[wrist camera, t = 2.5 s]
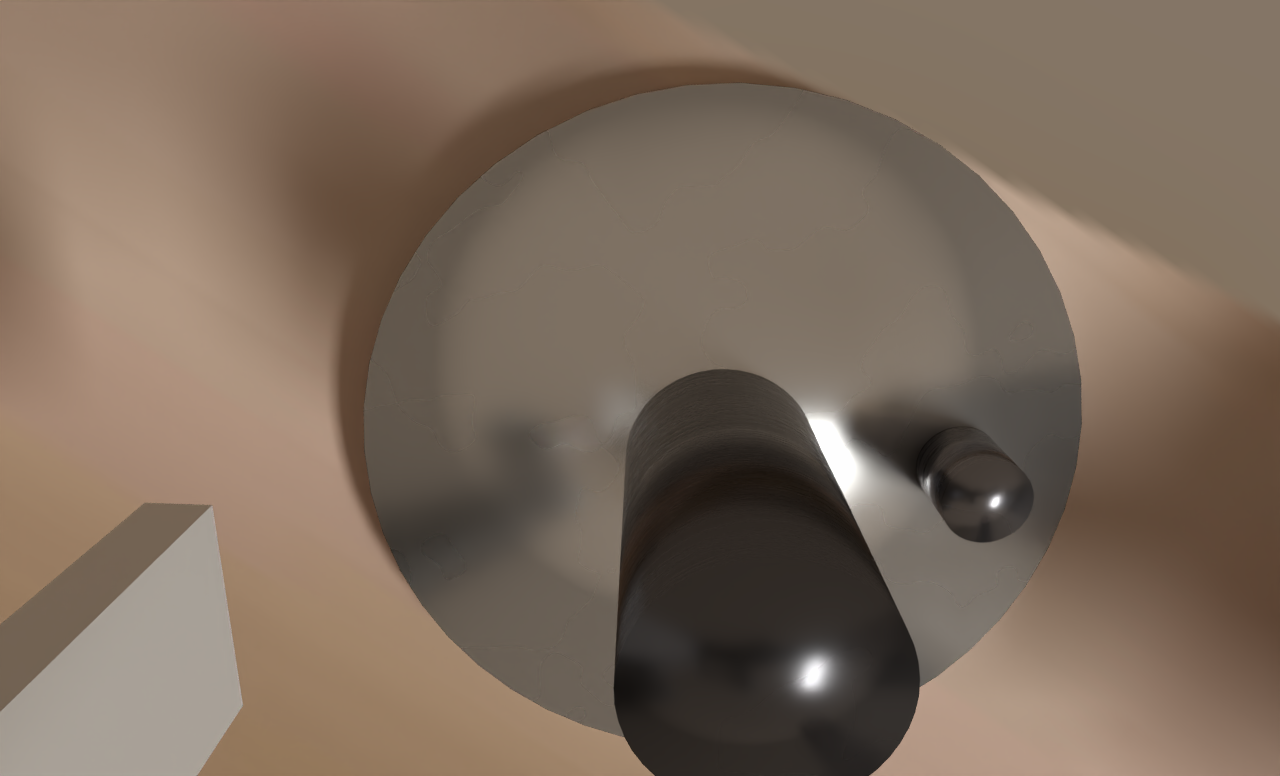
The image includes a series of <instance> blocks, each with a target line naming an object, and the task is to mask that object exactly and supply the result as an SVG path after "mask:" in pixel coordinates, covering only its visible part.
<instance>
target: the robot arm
mask: <svg viewBox="0 0 1280 776" xmlns="http://www.w3.org/2000/svg"><path fill="white" fill-rule="evenodd" d="M242 706H243V703H242V697H241V690H240V683H239V677H238V670H237V664H236V657H235V651H234V644H233V638H232V631H231V625H230V618H229V612H228V605H227V599H226V592H225V586H224V579H223V572H222V566H221V559H220V553H219V546H218V540H217V533H216V527H215V520H214V514H213V507H212V505H194V504H164V503H144V504H143V505H142V506H140V507H139V508H138V509H137V510H136V511H134V512H133V513H132V514H131V515H130V516H129V517H127V518H126V519H125V520H124V521H123V522H121V523H120V524H119V525H118V526H117V527H115V528H114V529H113V530H112V531H111V532H110V533H108V534H107V535H106V536H105V537H104V538H102V539H101V540H100V541H99V542H98V543H97V544H95V545H94V546H93V547H92V548H91V549H89V550H88V551H87V552H86V553H85V554H83V555H82V556H81V557H80V558H79V559H78V560H76V561H75V562H74V563H73V564H72V565H70V566H69V567H68V568H67V569H66V570H64V571H63V572H62V573H61V574H60V575H59V576H57V577H56V578H55V579H54V580H53V581H51V582H50V583H49V584H48V585H47V586H45V587H44V588H43V589H42V590H41V591H40V592H38V593H37V594H36V595H35V596H34V597H32V598H31V599H30V600H29V601H28V602H27V603H25V604H24V605H23V606H22V607H21V608H19V609H18V610H17V611H16V612H15V613H13V614H12V615H11V616H10V617H9V618H8V619H6V620H5V621H4V622H3V623H2V624H0V776H197V775H198V773H199V772H200V770H201V769H202V767H203V766H204V764H205V763H206V761H207V760H208V758H209V756H210V755H211V753H212V752H213V750H214V749H215V747H216V746H217V744H218V743H219V741H220V740H221V738H222V737H223V735H224V734H225V732H226V730H227V729H228V727H229V726H230V724H231V723H232V721H233V720H234V718H235V717H236V715H237V714H238V712H239V711H240V709H241V708H242Z"/></svg>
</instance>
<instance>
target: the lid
mask: <svg viewBox="0 0 1280 776" xmlns="http://www.w3.org/2000/svg"><path fill="white" fill-rule="evenodd" d="M1081 425H1082V416H1081V377H1080V370H1079V364H1078V358H1077V351H1076V345H1075V339H1074V334H1073V331H1072V328H1071V325H1070V321H1069V318H1068V315H1067V312H1066V309H1065V306H1064V302H1063V299H1062V296H1061V293H1060V291H1059V289H1058V287H1057V285H1056V283H1055V281H1054V278H1053V276H1052V274H1051V272H1050V270H1049V268H1048V266H1047V264H1046V262H1045V260H1044V258H1043V256H1042V254H1041V252H1040V250H1039V249H1038V247H1037V246H1036V244H1035V243H1034V241H1033V240H1032V239H1031V237H1030V236H1029V234H1028V233H1027V231H1026V230H1025V228H1024V227H1023V226H1022V224H1021V223H1020V221H1019V220H1018V218H1017V217H1016V215H1015V214H1014V213H1013V211H1012V210H1011V209H1010V208H1009V207H1008V206H1007V205H1006V204H1005V203H1004V202H1003V201H1002V199H1001V198H1000V197H999V196H998V195H997V194H996V193H995V192H994V191H993V190H992V189H991V188H990V187H989V186H988V185H987V184H986V182H985V181H984V180H983V179H982V178H981V177H980V176H979V175H978V174H976V173H975V172H974V171H972V170H971V169H970V168H969V167H967V166H966V165H965V164H964V163H962V162H961V161H960V160H959V159H957V158H956V157H955V156H953V155H952V154H951V153H950V152H948V151H947V150H946V149H945V148H943V147H942V146H941V145H939V144H938V143H936V142H934V141H932V140H931V139H929V138H927V137H925V136H924V135H922V134H920V133H918V132H917V131H915V130H913V129H911V128H910V127H908V126H906V125H904V124H903V123H901V122H899V121H897V120H896V119H893V118H891V117H888V116H886V115H883V114H881V113H878V112H875V111H873V110H870V109H868V108H865V107H863V106H860V105H858V104H855V103H853V102H850V101H848V100H844V99H840V98H835V97H831V96H827V95H823V94H819V93H815V92H810V91H806V90H802V89H798V88H790V87H780V86H769V85H759V84H748V83H719V84H697V85H683V86H678V87H673V88H667V89H662V90H656V91H651V92H645V93H640V94H635V95H632V96H629V97H626V98H623V99H620V100H617V101H614V102H611V103H608V104H605V105H602V106H599V107H596V108H593V109H590V110H587V111H585V112H583V113H581V114H579V115H577V116H575V117H573V118H571V119H569V120H567V121H565V122H563V123H561V124H559V125H557V126H555V127H553V128H551V129H549V130H547V131H545V132H543V133H541V134H539V135H537V136H536V137H534V138H533V139H531V140H530V141H528V142H527V143H525V144H524V145H522V146H521V147H519V148H518V149H517V150H515V151H514V152H512V153H511V154H509V155H508V156H506V157H505V158H503V159H502V160H500V161H499V162H497V163H496V164H495V165H493V166H492V167H491V168H490V169H489V170H488V171H487V172H486V173H485V174H483V175H482V176H481V177H480V178H479V179H478V180H477V181H476V182H475V183H473V184H472V185H471V186H470V187H469V188H468V189H467V190H466V191H465V192H463V193H462V194H461V195H460V196H459V197H458V198H457V199H456V200H455V201H454V203H453V204H452V205H451V206H450V207H449V209H448V210H447V211H446V212H445V213H444V215H443V216H442V217H441V218H440V219H439V220H438V222H437V223H436V224H435V225H434V226H433V228H432V229H431V230H430V231H429V232H428V234H427V235H426V236H425V238H424V239H423V241H422V243H421V244H420V246H419V247H418V249H417V251H416V252H415V254H414V255H413V257H412V259H411V260H410V262H409V263H408V265H407V267H406V268H405V270H404V272H403V273H402V275H401V276H400V279H399V281H398V283H397V285H396V288H395V290H394V292H393V294H392V297H391V299H390V301H389V304H388V306H387V308H386V310H385V313H384V315H383V317H382V320H381V323H380V327H379V330H378V334H377V338H376V341H375V345H374V349H373V352H372V356H371V359H370V363H369V370H368V378H367V386H366V394H365V402H364V451H365V458H366V464H367V470H368V477H369V483H370V489H371V494H372V498H373V501H374V504H375V508H376V511H377V514H378V517H379V521H380V524H381V527H382V531H383V534H384V536H385V538H386V540H387V542H388V545H389V547H390V549H391V551H392V553H393V555H394V558H395V560H396V562H397V564H398V566H399V568H400V571H401V572H402V574H403V575H404V577H405V579H406V580H407V582H408V583H409V585H410V587H411V588H412V590H413V591H414V593H415V594H416V596H417V598H418V599H419V601H420V602H421V604H422V606H423V607H424V608H425V609H426V610H427V612H428V613H429V614H430V615H431V616H432V618H433V619H434V620H435V621H436V622H437V624H438V625H439V626H440V627H441V629H442V630H443V631H444V632H445V633H446V635H447V636H448V637H449V638H450V639H451V640H452V641H453V642H454V643H455V644H456V645H458V646H459V647H460V648H461V649H462V650H463V651H464V652H465V653H466V654H467V655H468V656H469V657H470V658H471V659H472V660H473V661H475V662H476V663H477V664H478V665H479V666H480V667H482V668H483V669H484V670H486V671H487V672H489V673H490V674H491V675H493V676H494V677H495V678H497V679H498V680H499V681H501V682H502V683H503V684H505V685H506V686H508V687H509V688H510V689H512V690H514V691H515V692H517V693H519V694H521V695H522V696H524V697H526V698H528V699H529V700H531V701H533V702H535V703H536V704H538V705H540V706H542V707H543V708H545V709H547V710H550V711H552V712H554V713H557V714H559V715H561V716H564V717H566V718H568V719H571V720H573V721H575V722H578V723H580V724H582V725H585V726H589V727H592V728H595V729H599V730H602V731H605V732H608V733H612V734H615V735H618V736H622V737H625V739H626V741H627V742H628V744H629V746H630V748H631V749H632V751H633V752H634V754H635V755H636V756H637V757H638V759H639V760H640V761H641V762H642V764H643V765H644V766H645V767H646V768H647V769H648V770H649V771H650V772H652V773H653V774H654V775H655V776H869V775H871V774H872V773H873V772H874V771H876V770H877V769H878V768H879V767H880V766H881V765H882V764H883V763H884V762H885V761H886V760H887V759H888V758H889V757H890V756H891V754H892V753H893V752H894V750H895V749H896V748H897V746H898V745H899V744H900V742H901V741H902V739H903V737H904V735H905V734H906V732H907V730H908V728H909V726H910V724H911V721H912V719H913V716H914V714H915V710H916V706H917V702H918V697H919V688H920V687H921V686H922V685H924V684H926V683H927V682H929V681H930V680H932V679H933V678H935V677H937V676H938V675H939V674H941V673H942V672H943V671H944V670H946V669H947V668H948V667H949V666H950V665H952V664H953V663H954V662H955V661H957V660H958V659H959V658H960V657H962V656H963V655H964V654H965V653H967V652H968V651H969V650H970V649H971V648H972V647H973V646H974V645H975V644H976V643H977V642H978V641H979V640H980V639H981V638H982V637H983V636H984V635H985V634H986V633H987V632H988V631H989V630H990V629H991V628H992V627H993V626H994V625H995V624H996V623H997V622H998V621H999V620H1000V619H1001V617H1002V616H1003V615H1004V614H1005V612H1006V611H1007V610H1008V608H1009V607H1010V606H1011V604H1012V603H1013V602H1014V601H1015V599H1016V598H1017V597H1018V595H1019V594H1020V593H1021V591H1022V590H1023V589H1024V587H1025V586H1026V585H1027V583H1028V581H1029V580H1030V578H1031V576H1032V575H1033V573H1034V571H1035V569H1036V568H1037V566H1038V564H1039V563H1040V561H1041V559H1042V558H1043V556H1044V554H1045V552H1046V551H1047V549H1048V547H1049V544H1050V542H1051V540H1052V537H1053V535H1054V533H1055V530H1056V528H1057V526H1058V523H1059V521H1060V519H1061V516H1062V514H1063V512H1064V509H1065V505H1066V502H1067V498H1068V495H1069V491H1070V487H1071V484H1072V480H1073V476H1074V473H1075V469H1076V463H1077V456H1078V448H1079V440H1080V433H1081Z"/></svg>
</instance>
